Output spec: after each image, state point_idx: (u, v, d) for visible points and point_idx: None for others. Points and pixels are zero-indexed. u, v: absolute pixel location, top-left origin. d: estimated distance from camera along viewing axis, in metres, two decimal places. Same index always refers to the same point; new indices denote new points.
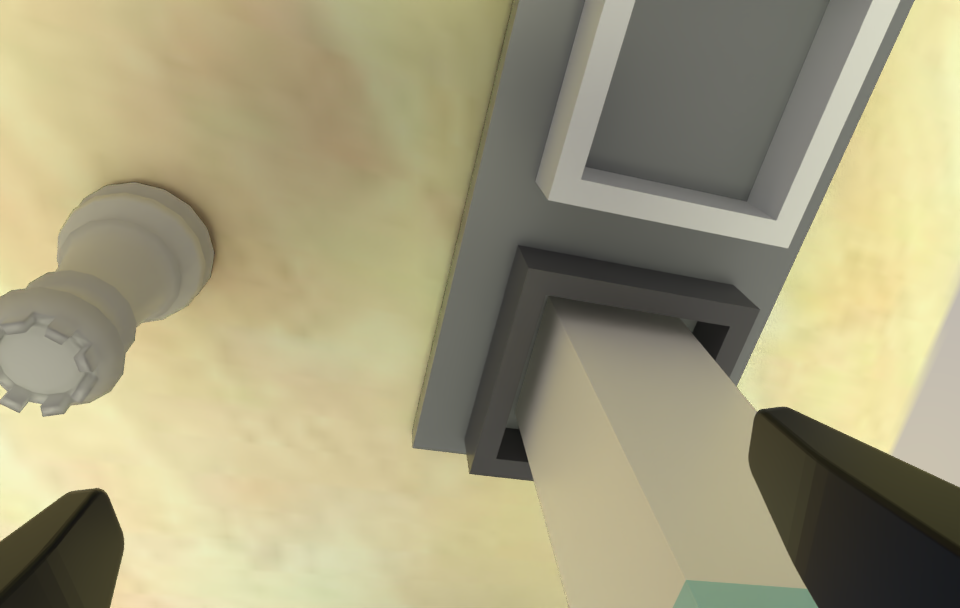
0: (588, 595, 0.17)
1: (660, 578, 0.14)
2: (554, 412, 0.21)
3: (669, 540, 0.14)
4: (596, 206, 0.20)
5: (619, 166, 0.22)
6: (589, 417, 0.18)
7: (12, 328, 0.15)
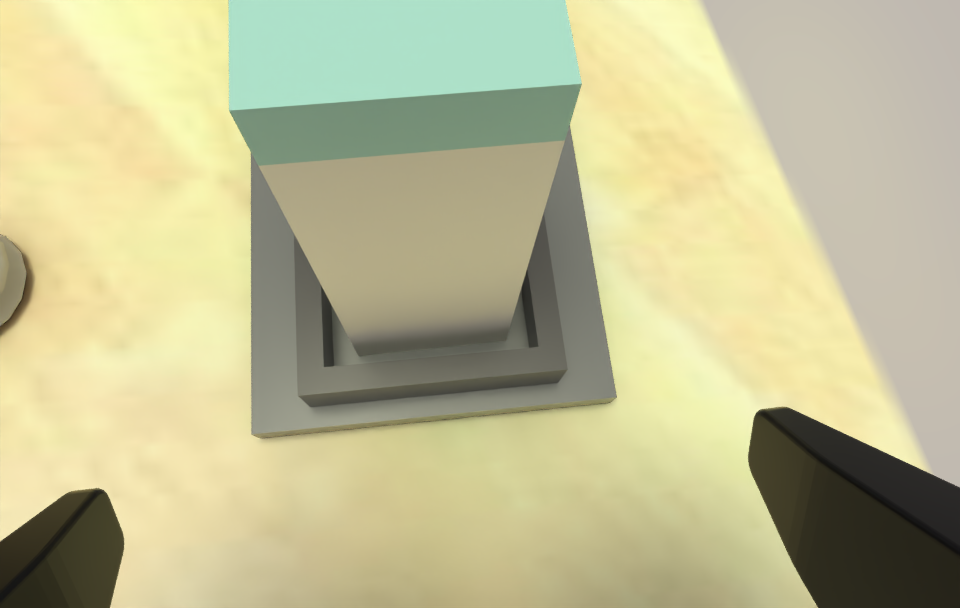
0: None
1: None
2: None
3: None
4: None
5: None
6: None
7: None
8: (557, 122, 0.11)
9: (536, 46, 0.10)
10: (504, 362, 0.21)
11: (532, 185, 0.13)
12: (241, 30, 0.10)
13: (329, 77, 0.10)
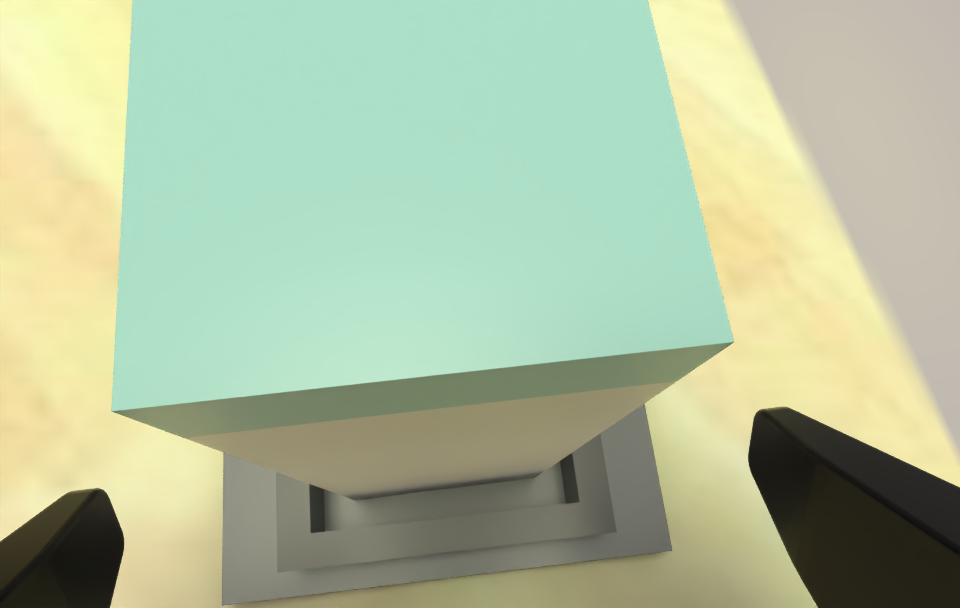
0: None
1: None
2: None
3: None
4: None
5: None
6: None
7: None
8: (674, 370, 0.06)
9: (651, 270, 0.06)
10: (537, 523, 0.17)
11: (609, 409, 0.08)
12: (142, 248, 0.06)
13: (293, 339, 0.05)
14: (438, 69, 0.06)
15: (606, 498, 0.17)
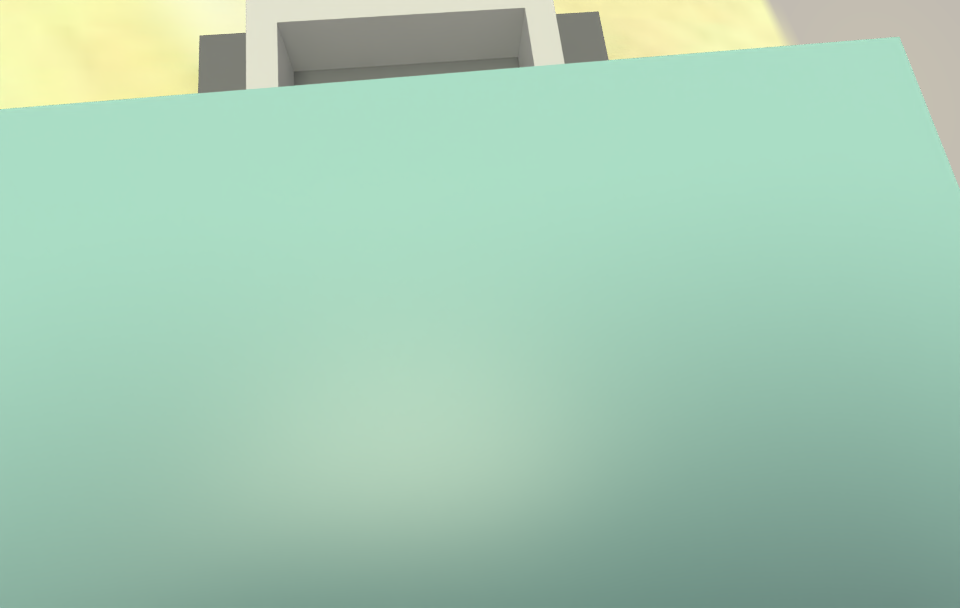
0: None
1: None
2: None
3: None
4: None
5: None
6: None
7: None
8: None
9: None
10: None
11: None
12: None
13: None
14: (518, 543, 0.02)
15: None
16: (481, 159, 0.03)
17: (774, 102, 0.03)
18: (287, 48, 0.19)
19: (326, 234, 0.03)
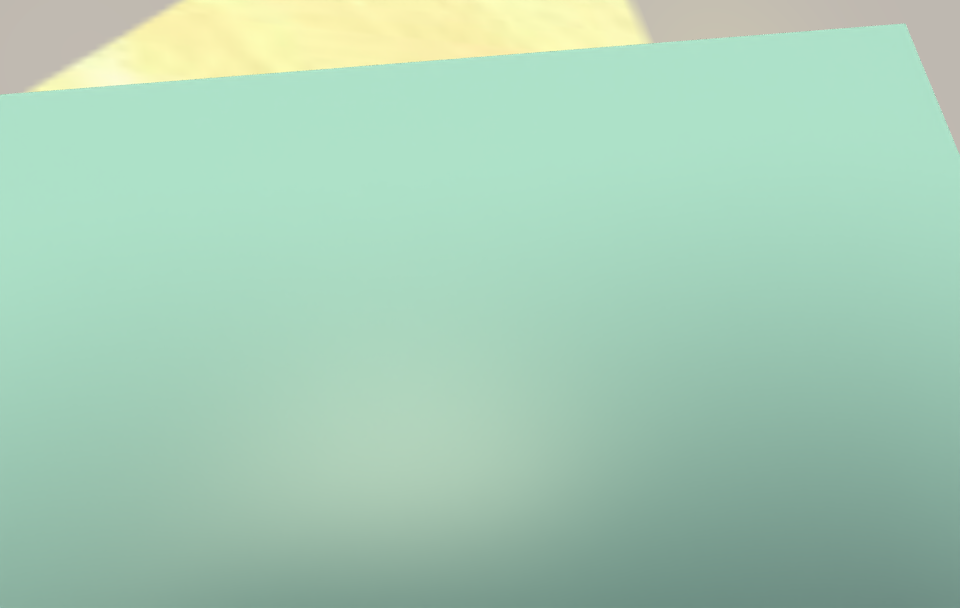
0: None
1: None
2: None
3: None
4: None
5: None
6: None
7: None
8: None
9: None
10: None
11: None
12: None
13: None
14: (537, 518, 0.02)
15: None
16: (495, 142, 0.03)
17: (781, 87, 0.03)
18: None
19: (345, 214, 0.03)
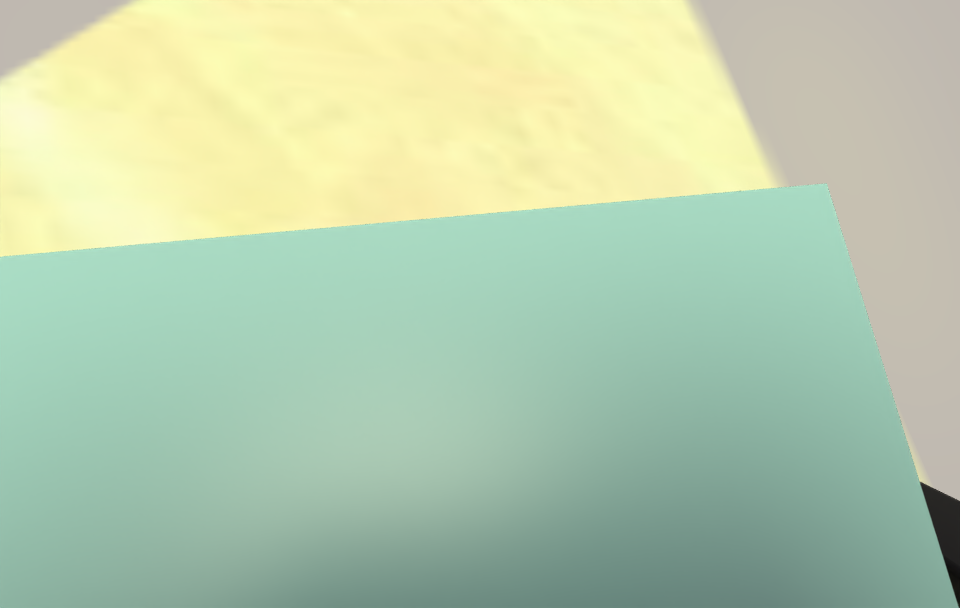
0: None
1: None
2: None
3: None
4: None
5: None
6: None
7: None
8: None
9: None
10: None
11: None
12: None
13: None
14: (522, 596, 0.03)
15: None
16: (494, 287, 0.04)
17: (725, 239, 0.04)
18: None
19: (376, 350, 0.04)
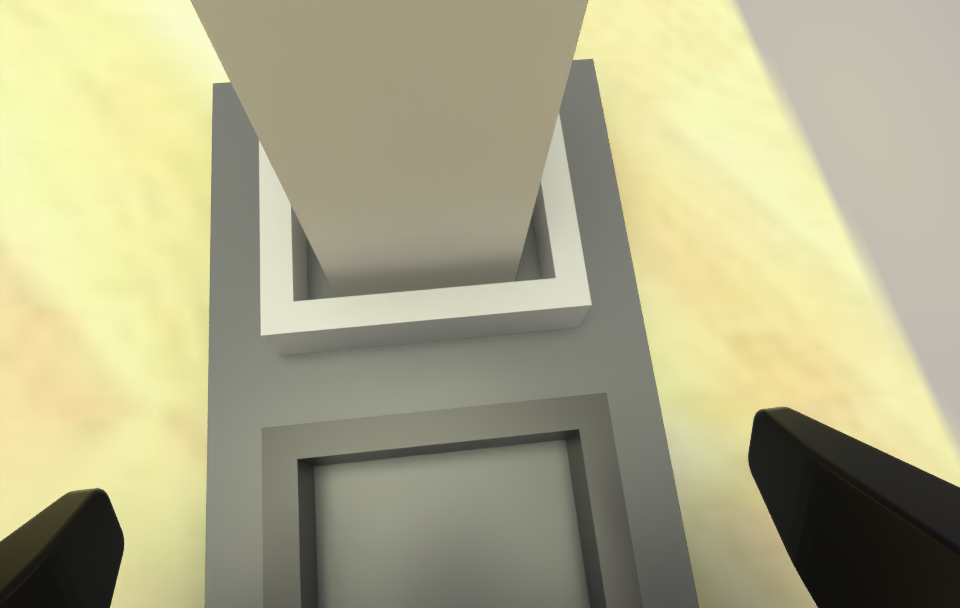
0: None
1: None
2: None
3: None
4: (323, 325, 0.17)
5: None
6: None
7: None
8: None
9: None
10: None
11: None
12: None
13: None
14: None
15: None
16: None
17: None
18: None
19: None
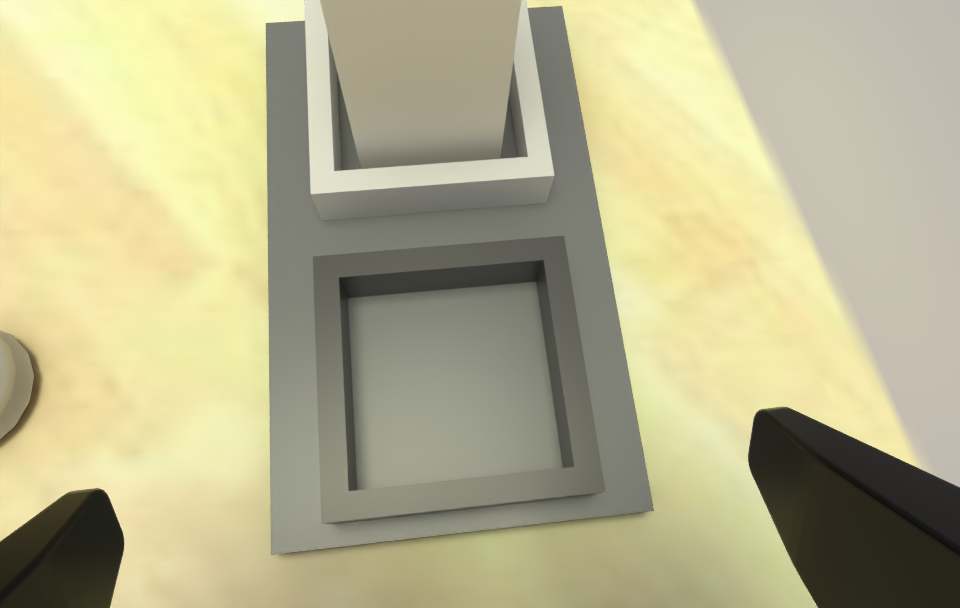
0: None
1: None
2: None
3: None
4: (356, 187, 0.22)
5: None
6: None
7: None
8: None
9: None
10: (538, 484, 0.20)
11: None
12: None
13: None
14: None
15: (597, 463, 0.20)
16: None
17: None
18: None
19: None
